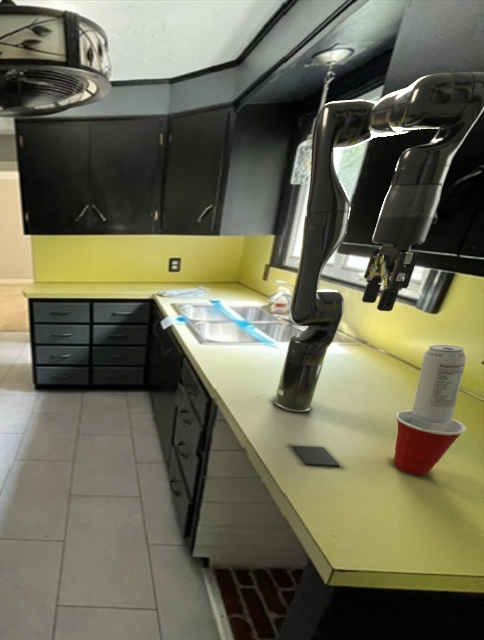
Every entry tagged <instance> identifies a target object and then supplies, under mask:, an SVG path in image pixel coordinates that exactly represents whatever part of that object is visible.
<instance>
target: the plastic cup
mask: <svg viewBox="0 0 484 640" xmlns="http://www.w3.org/2000/svg"><path fill="white" fill-rule="evenodd" d="M412 411H413V409H411V410H410V409H409V410H400V411H398V412H395V419H396V421H397V434H396V440H395V441H396V442H395V448H394V450H395V452H394V455H393V456H394V457H393V464H394V466H395V467H396V468H397V469H399V470H401V471H403V472H405V473H408V474H411V475H415V476H426V475H428V473H430V472H431V470H432V469H433V468H434V467H435V465H437V464H438V463H439V461H440V460H441V459H442V458H443V456H444V455H445V454H446V452H448V450H449V448H450V447H452V445H453V443H455V442H456V440H457V439H458V438H459V437H460V436H461V435H462V434H464V433H465V432H467V428H466V427H467V426H465V424H463V423H461V422H460V421H458V420H456V419H453V418H452V419H450V420H448V422H447V423H441V424H440V423H429V422H425V421H421V420H419V419H417V418H416V417H415V414H414V413H413V412H412Z"/></svg>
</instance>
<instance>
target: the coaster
mask: <svg viewBox="0 0 484 640" xmlns="http://www.w3.org/2000/svg"><path fill="white" fill-rule="evenodd" d="M292 450H293V451H295V452H296V454H297V455H298V456H299V458H300V459H301V460H302V462H303V463H304V464H305V465H306V466H307V465H308V466H323V467H324V466H325V467H340V464H339V463H338V462H337V461H336V459H335V458H334V457H333V456H332V455H331V454H330V453H329V452H328V451H327V450H326V449H325V448H324V447H323V446H307V445H306V446H303V445H292Z"/></svg>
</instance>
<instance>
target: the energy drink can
mask: <svg viewBox="0 0 484 640" xmlns="http://www.w3.org/2000/svg"><path fill="white" fill-rule="evenodd" d="M464 350H465V349H464V347H461V346H458V345H449V344H448V345H446V344H445V345H444V344H441V345H440V344H437V345H436V344H435V345H429V347H428V349H427V350H426V352H424V354H423V356H422V361H421V366H420V371H419V377H418V381H417V385H416V386H417V388H416V392H415V396H414V401H413V407H412V410H413V411H412V412H413V413H414V414H415V417H416V418H417V419H419V420H421V421H425V422H429V423H440V424H441V423H447V422H448V420H450V419H453V418H454V413H455V410H456V404H457V402H458V401H457V400H458V396H459V391H460V388H461V383H462V378H463V374H464V370H465V365H466V361H467V355H466V354H465V352H464Z"/></svg>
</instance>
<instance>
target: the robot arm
mask: <svg viewBox="0 0 484 640" xmlns="http://www.w3.org/2000/svg"><path fill="white" fill-rule="evenodd" d="M483 113H484V72H483V71H467V72H440V73H439V72H438V73H432V74H428V75H425V76H422V77H420V78H418V79H417V80H415V81H414V82H413V83H411V84H410V85H409V86H408V87H405V88H401V89H398V90H396V91H393V92H390V93H388V94H386V95H384V96H383V97H382V98H380V99H379V100H378V101H376V100H375V101H374V100H366V99H351V100H338V101H331V102H328V103H325V104H324V105H323V106H322V107H321V108H320V110H319V111H318V113H317V116H316V117H315V120H314V121H315V122H314V126H313V129H312V138H311V139H312V141H311V161H310V162H311V163H310V164H311V165H310V179H309V186H308V187H309V189H308V196H307V202H306V210H305V215H304V223H303V231H302V240H301V242H302V243H301V250H300V257H299V263H298V268H297V273H296V278H295V282H294V287H293V291H292V296H291V301H290V305H289V306H290V307H289V313H290V319H291V322H292V323H293V324H294V325H295V326H298V327H307V328H306V329H304V330H303V331H301V332H299V333H298V334H295V335H293V336H292V337H290V339H289V341H288V345H287V349H286V352H285V356H284V357H285V358H284V362H283V365H282V369H281V373H280V377H279V382H278V386H277V387H276V388H277V389H276V393H275V397H274V400H273V404H274V405H275V406H276V407H279V408H280V409H282V410H285V411H289V412H293V413H307V412H309V411H311V407H312V402H313V399H314V396H315V392H316V390H317V386H318V382H319V379H320V375H321V372H322V368H323V365H324V362H325V358H326V355H327V352H328V348H329V347H330V346H331V345H332V343H333V341H334V339H335V337H336V334H337V331H338V328H339V326H340V323H341V320H342V318H343V314H344V310H345V300H344V297H343V295H342V293H341V292H339V291H337V290H332V289H319V286H320V280H321V275H322V273H323V270H324V268H325V266H326V264H327V263H328V262H329V260H330V259H331V258H332V256H333V255H334V253H335V252H336V251H337V250H338V248H339V247H340V245H341V243H343V241H344V239H345V237H346V234H347V230H348V226H349V220H350V219H349V218H350V211H351V201H350V198H349V196H348V194H347V191H346V190H345V187H344V185H343V184H342V182H341V180H340V179H339V177H338V174H337V171H336V169H335V162H334V161H335V160H334V149H336V150H337V149H349V148H352V147H356V146H359V145H361V144H364V143H365V142H367V141H370V140H372V139H373V138H377V137H387V136H394V135H399V134H400V135H401V134H406V133H409V132H412V131H415V130H418V129H419V130H421V129H438V130H437V131H436V133H435V135H434V136H433V138H432V139H431V140H430V141H429V142H428V143H425V144H420V145H415V146H412V147H410V148H407V149H405V151H403V152H402V153H401V155H400V157H399V159H398V160H397V164H396V167H395V171H394V173H393V176H392V180H391V184H390V187H389V190H388V192H387V194H386V196H385V198H384V201H383V204H382V206H381V210H380V213H379V216H378V219H377V223H376V227H375V229H374V232H373V235H372V243H374V244H381V246H380V247H374V248H373V249H372V250H371V255H370V257H369V260H368V263H367V265H366V266H367V267H366V269H365V273H364V275H363V278H364V279H365V283H366V286H365V290H364V292H363V295H362V299H361V301H362V302H363V303H366V304H367V303H368V304H374V303H376V302H377V299H378V296H379V293H380V289H381V287H383V289H382V291H381V293H380V296H379V299H378V302H377V306H376V309H377V310H378V311H380V312H391V311H393V309H394V307H395V304H396V300H397V298H398V296H399V292H400V291H402V290H403V289H408V287H409V286H410V281H411V279H412V276H413V273H414V270H415V267H416V263H417V261H418V258H419V255H420V253H419V252H417V251H411V248H412V246H413V245H422V244H424V243H425V242H426V239H427V236H428V234H429V230H430V228H431V226H432V224H433V223H432V222H433V219H434V217H435V215H436V211H437V209H438V206H439V203H440V200H441V195H442V190H443V187H444V184H445V181H446V179H447V176H448V172H449V170H450V167H451V164H452V161H453V159H454V157H455V155H456V154H457V152H458V150H459V149H460V147H462V144H463V142H464V141H465V139H466V138H467V136H468V135H469V133H470V132H471V130H472V129H473V127H474V125H475V124H476V123H477V121H478V120H479V118H480V117H481V116H482V114H483ZM382 283H383V286H382Z"/></svg>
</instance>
